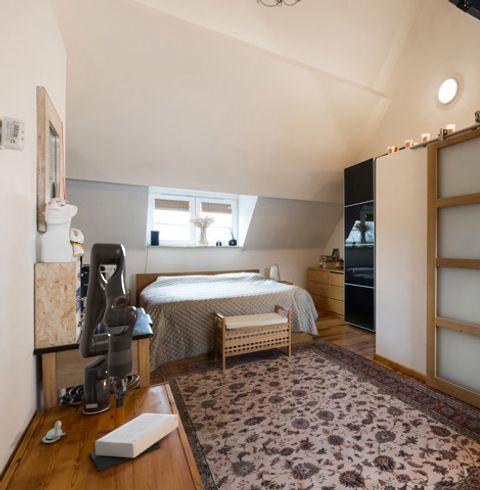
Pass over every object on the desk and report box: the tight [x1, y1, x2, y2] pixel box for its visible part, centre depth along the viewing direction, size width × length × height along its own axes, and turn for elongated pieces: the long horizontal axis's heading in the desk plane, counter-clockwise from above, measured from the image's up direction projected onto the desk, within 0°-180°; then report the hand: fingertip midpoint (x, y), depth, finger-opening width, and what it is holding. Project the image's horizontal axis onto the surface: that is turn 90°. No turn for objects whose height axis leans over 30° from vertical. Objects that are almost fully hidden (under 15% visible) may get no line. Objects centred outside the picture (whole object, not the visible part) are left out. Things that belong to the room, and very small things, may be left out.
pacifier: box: [41, 420, 66, 444], centre depth 131 cm, size 7×6×6 cm
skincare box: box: [94, 412, 179, 459], centre depth 130 cm, size 21×5×16 cm
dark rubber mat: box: [89, 442, 161, 472], centre depth 125 cm, size 13×18×1 cm
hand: (119, 406), depth 130 cm, fingers closed
